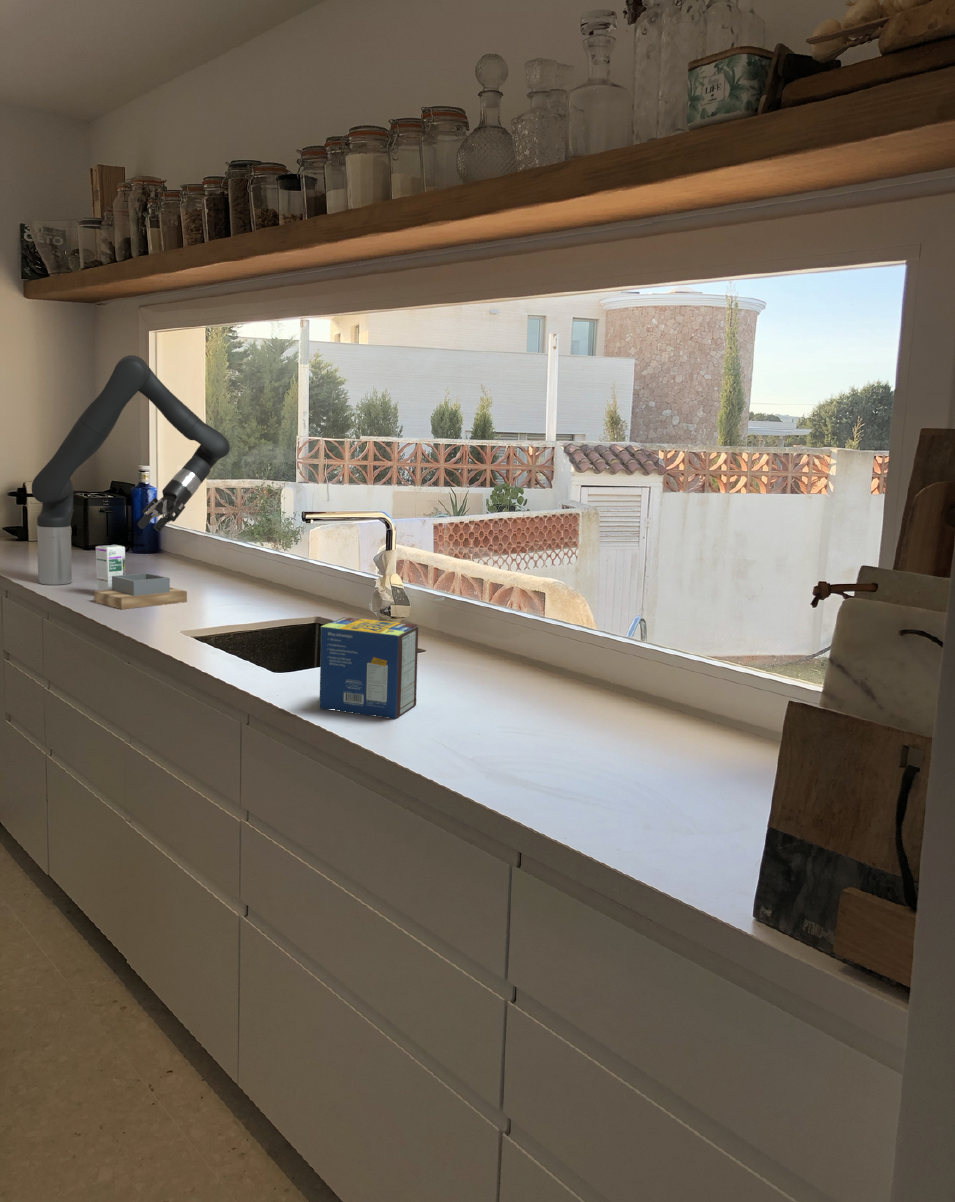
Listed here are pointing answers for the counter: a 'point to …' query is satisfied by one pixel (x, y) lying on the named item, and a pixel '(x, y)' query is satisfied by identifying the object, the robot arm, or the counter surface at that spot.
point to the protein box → (368, 667)
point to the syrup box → (109, 565)
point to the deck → (138, 598)
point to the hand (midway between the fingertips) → (148, 528)
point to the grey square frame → (140, 584)
